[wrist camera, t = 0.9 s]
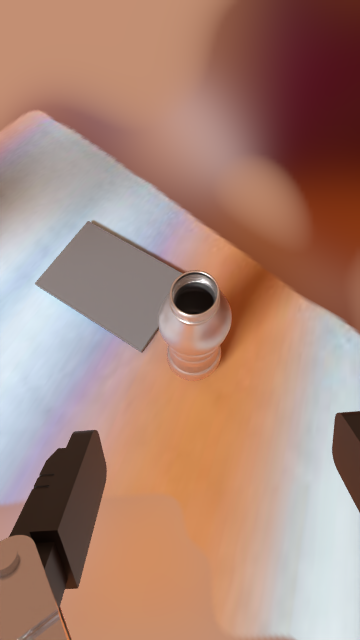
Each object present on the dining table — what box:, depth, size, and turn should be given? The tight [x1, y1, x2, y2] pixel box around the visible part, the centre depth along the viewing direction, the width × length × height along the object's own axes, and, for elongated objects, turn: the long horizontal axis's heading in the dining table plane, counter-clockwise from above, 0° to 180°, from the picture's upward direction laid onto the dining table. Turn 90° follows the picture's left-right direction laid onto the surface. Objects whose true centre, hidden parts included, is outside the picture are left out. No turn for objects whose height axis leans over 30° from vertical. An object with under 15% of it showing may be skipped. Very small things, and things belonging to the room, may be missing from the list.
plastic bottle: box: [158, 270, 232, 381], centre depth 34 cm, size 6×7×20 cm
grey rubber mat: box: [35, 221, 182, 352], centre depth 47 cm, size 18×12×1 cm, turn 57°
